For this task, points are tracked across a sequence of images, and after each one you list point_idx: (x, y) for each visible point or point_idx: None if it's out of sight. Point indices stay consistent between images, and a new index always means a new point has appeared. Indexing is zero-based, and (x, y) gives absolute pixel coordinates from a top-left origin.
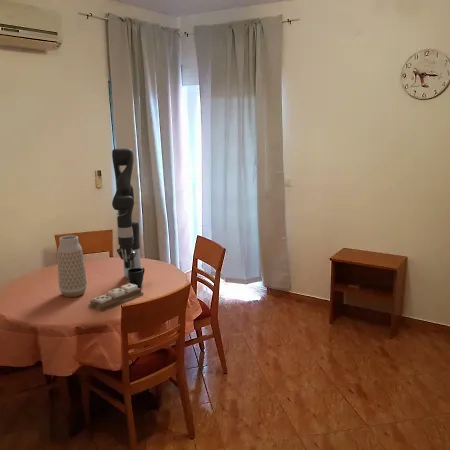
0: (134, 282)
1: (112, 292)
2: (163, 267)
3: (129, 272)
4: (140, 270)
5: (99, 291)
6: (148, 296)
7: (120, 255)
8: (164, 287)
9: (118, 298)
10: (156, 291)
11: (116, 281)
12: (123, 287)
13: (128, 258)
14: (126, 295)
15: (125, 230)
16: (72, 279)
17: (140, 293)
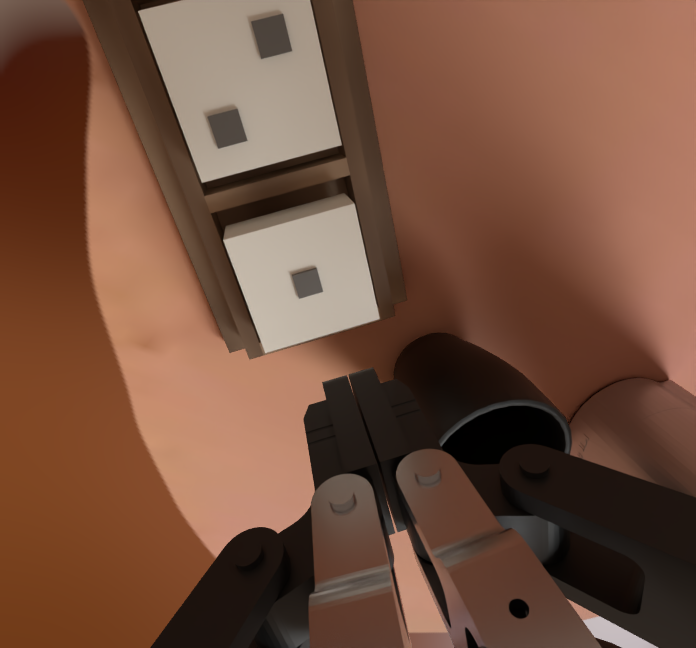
0: (413, 370)
1: (217, 5)
2: None
3: (494, 399)
4: None
5: (585, 64)
6: (161, 358)
7: (634, 515)
8: (271, 505)
9: (129, 48)
10: (231, 441)
11: (644, 296)
12: (310, 215)
13: (251, 604)
14: (178, 176)
15: None
16: None
17: (226, 326)
